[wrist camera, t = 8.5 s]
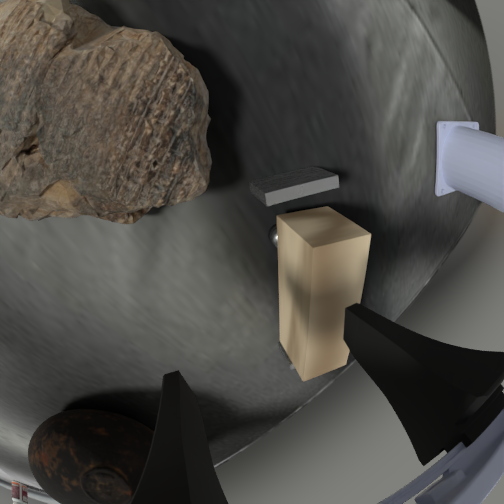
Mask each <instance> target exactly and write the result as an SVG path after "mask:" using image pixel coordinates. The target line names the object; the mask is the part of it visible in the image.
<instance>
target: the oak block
mask: <svg viewBox="0 0 504 504" xmlns="http://www.w3.org/2000/svg"><path fill="white" fill-rule="evenodd" d="M370 240H371V233H369V232H368V231H366V230H365V229H363V228H361V227H360V226H358V225H357V224H355V223H354V222H352V221H351V220H349V219H347V218H346V217H344V216H343V215H341V214H339V213H338V212H336V211H335V210H333V209H331V208H330V207H328V206H326V207H320V208H314V209H308V210H303V211H297V212H292V213H286V214H281V215H277V241H278V273H279V320H280V342H281V344H282V346H283V347H284V349H285V351H286V353H287V354H288V356H289V358H290V360H291V361H292V363H293V365H294V367H295V368H296V370H297V372H298V373H299V375H300V377H301V379H302V380H303V381H306V380H309V379H311V378H314V377H317V376H319V375H322V374H324V373H327V372H329V371H331V370H334V369H336V368H339V367H341V366H343V365H346V362H347V358H348V354H349V348H348V346H347V345H346V343H345V341H344V340H343V334H344V319H345V308H346V307H348V306H350V305H353V304H355V303H359V304H360V301H361V296H362V291H363V285H364V280H365V274H366V268H367V261H368V254H369V247H370Z"/></svg>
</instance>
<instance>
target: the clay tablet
mask: <svg viewBox="0 0 504 504" xmlns="http://www.w3.org/2000/svg"><path fill="white" fill-rule="evenodd" d="M183 58H184V55H183V54H181V53H180V52H179V51H178V50H177V49H176V48H175V47H173V45H172V44H171V42H170V41H169V40H168V39H167V38H165V37H164V36H163V35H161V34H160V33H158V32H157V31H155V32H150V31H148V30H142V29H133V28H128V27H126V26H122V27H115V26H110V25H108V24H106V23H105V22H104V21H103V20H102V19H101V18H99V17H98V16H96V15H95V14H91V13H89V12H88V11H86V10H85V9H83V8H82V7H81V6H78V5H75V4H70V1H69V0H6V1H3V2H1V3H0V214H1V215H4V216H6V217H9V218H17V217H18V215H20V216H22V217H24V218H26V219H28V220H30V221H33V220H38V221H39V220H41V219H43V218H47V217H51V216H53V217H63V218H75V217H78V216H80V215H91V216H94V217H97V218H100V219H105V220H109V221H112V222H118V223H122V224H133V223H135V222H136V221H138V220H139V219H140V218H141V217H142V216H143V215H144V214H146V213H147V212H148V211H149V210H150V209H151V208H152V207H158V208H159V207H161V206H163V205H167V206H173V205H175V204H177V203H181V202H186V201H189V200H193V199H195V198H196V197H198V196H199V195H201V194H202V193H204V192H205V191H206V189H207V186H208V184H209V173H210V169H211V165H212V159H211V154H210V150H209V148H208V146H207V140H206V133H207V128H208V125H209V123H210V120H211V118H210V117H209V115H208V114H207V113H208V105H209V91H208V90H207V88H206V85H205V83H204V81H203V79H202V77H201V75H200V72H199V70H198V69H197V68H195V67H194V66H192V65H191V64H190V63H189V62H187V61H186V60H184V59H183Z"/></svg>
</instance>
